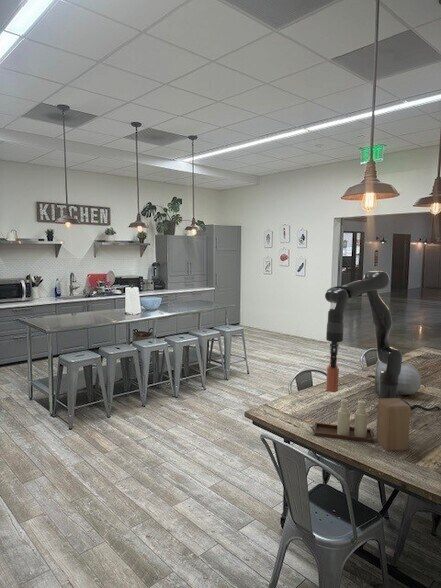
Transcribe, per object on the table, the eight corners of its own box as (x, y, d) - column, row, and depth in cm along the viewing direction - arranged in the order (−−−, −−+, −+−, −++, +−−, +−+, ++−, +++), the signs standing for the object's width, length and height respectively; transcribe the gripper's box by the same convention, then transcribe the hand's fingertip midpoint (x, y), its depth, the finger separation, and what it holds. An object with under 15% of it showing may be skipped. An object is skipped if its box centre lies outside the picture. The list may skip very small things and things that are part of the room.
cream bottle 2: (366, 433, 182) (367, 400, 180) (367, 439, 177) (368, 404, 175) (353, 432, 183) (355, 398, 181) (354, 437, 178) (356, 403, 176)
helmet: (363, 394, 234) (420, 402, 220) (363, 364, 232) (421, 369, 218) (368, 384, 250) (421, 391, 236) (368, 356, 249) (422, 361, 234)
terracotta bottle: (337, 388, 190) (339, 356, 188) (337, 392, 185) (339, 359, 183) (326, 387, 192) (327, 355, 190) (325, 391, 187) (327, 357, 185)
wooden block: (375, 440, 176) (377, 397, 174) (396, 439, 177) (399, 397, 175) (386, 452, 166) (388, 406, 164) (408, 451, 167) (411, 406, 165)
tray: (371, 433, 184) (371, 429, 183) (373, 444, 173) (374, 439, 173) (314, 426, 190) (315, 422, 190) (314, 436, 180) (314, 432, 180)
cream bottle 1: (349, 431, 184) (350, 398, 182) (349, 437, 178) (351, 402, 177) (336, 430, 185) (338, 397, 183) (337, 435, 180) (338, 401, 178)
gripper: (343, 334, 177) (341, 371, 179) (342, 328, 191) (341, 363, 193) (326, 333, 179) (324, 369, 181) (326, 327, 193) (325, 361, 195)
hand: (333, 366), depth 187 cm, fingers closed on terracotta bottle, 4 cm apart
